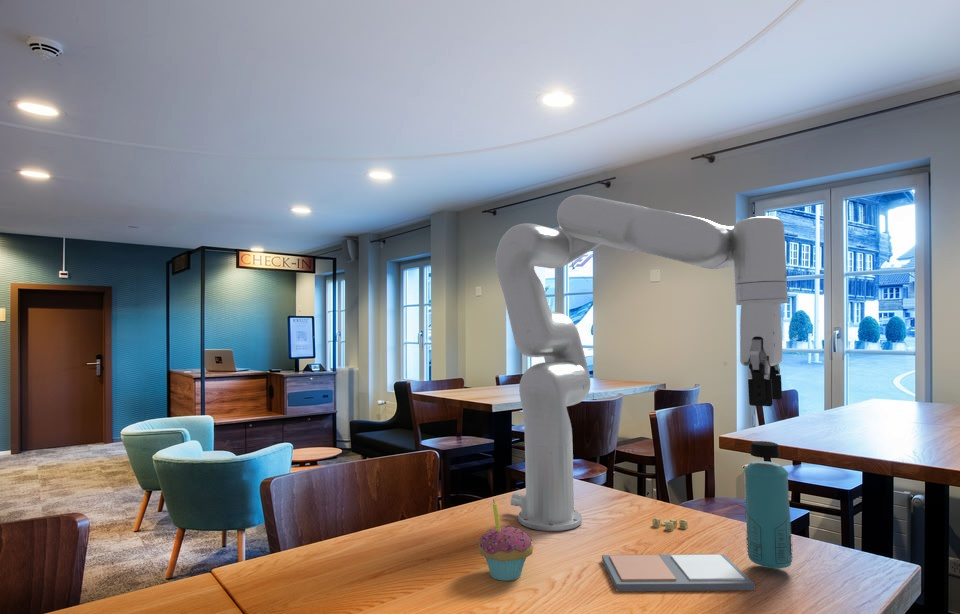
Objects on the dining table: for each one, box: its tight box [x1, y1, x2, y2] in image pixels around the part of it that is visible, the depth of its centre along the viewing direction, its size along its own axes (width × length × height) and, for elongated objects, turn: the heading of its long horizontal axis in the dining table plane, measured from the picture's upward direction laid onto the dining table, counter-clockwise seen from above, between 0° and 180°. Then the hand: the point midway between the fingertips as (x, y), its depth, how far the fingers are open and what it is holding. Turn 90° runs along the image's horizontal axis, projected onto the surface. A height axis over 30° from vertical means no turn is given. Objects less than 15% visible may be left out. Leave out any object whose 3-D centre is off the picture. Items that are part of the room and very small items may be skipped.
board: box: [601, 553, 756, 592], centre depth 90 cm, size 20×11×1 cm, turn 89°
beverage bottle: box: [743, 440, 794, 569], centre depth 92 cm, size 6×7×20 cm
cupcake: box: [478, 498, 534, 582], centre depth 91 cm, size 9×8×12 cm
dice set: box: [651, 517, 689, 532], centre depth 112 cm, size 5×5×2 cm
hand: (766, 402), depth 92 cm, fingers open, 9 cm apart
